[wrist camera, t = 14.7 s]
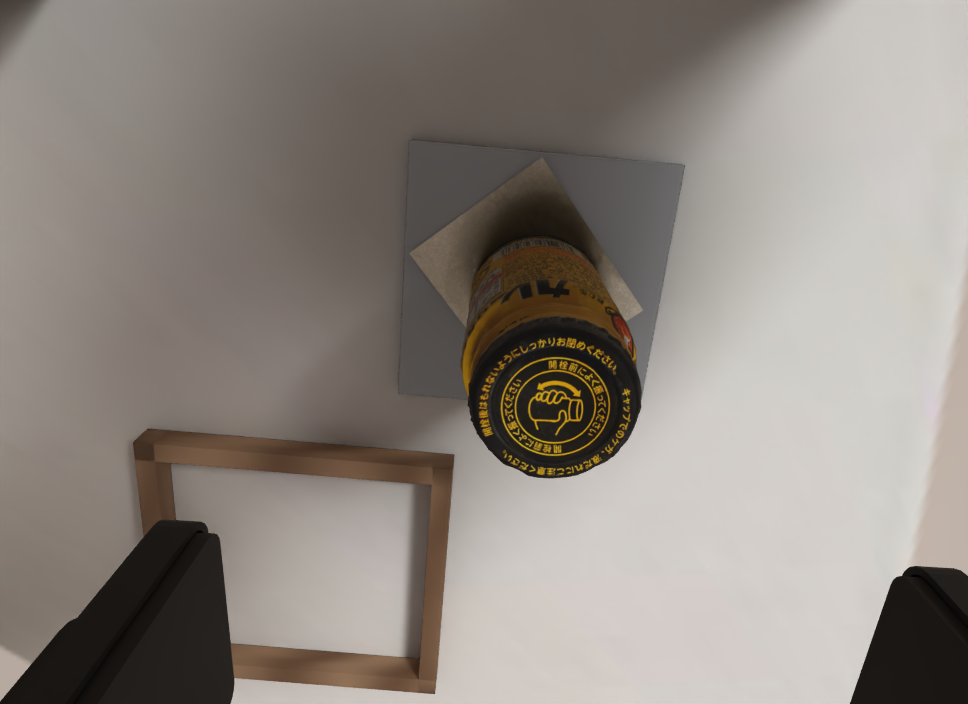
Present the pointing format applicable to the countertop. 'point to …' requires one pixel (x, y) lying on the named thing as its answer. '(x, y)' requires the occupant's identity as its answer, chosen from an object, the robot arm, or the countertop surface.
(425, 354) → the mat
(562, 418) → the condiment
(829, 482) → the countertop surface
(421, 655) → the wooden square frame
